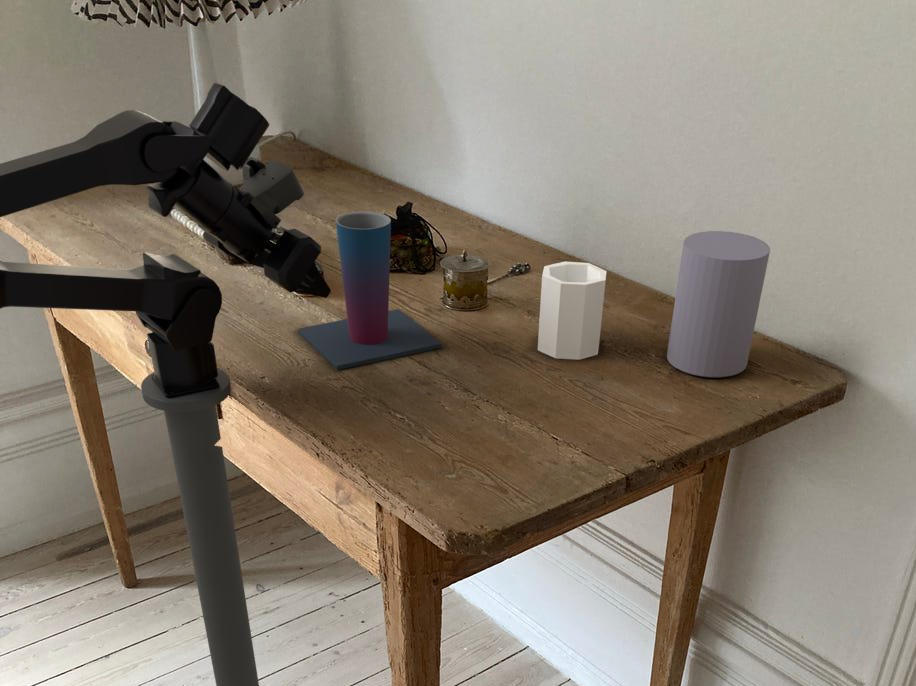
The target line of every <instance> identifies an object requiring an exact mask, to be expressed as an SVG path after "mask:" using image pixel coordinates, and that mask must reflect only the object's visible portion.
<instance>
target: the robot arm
mask: <svg viewBox="0 0 916 686" xmlns="http://www.w3.org/2000/svg"><path fill="white" fill-rule="evenodd" d="M269 127H270V123H269V121H268V119H266V117H265V116H264V115H263V114H262V113H261V112H260V111H259V110H258V109H257V108H255V107H254V106H251V105H249V104H248V103H247V102H246V101H244V100H243V99H242V98H240V97H239V96H238V95H236V94H235V93H233V92H232V91H230V89H228V88H227V86H226V85H224V84H222V83H220V82H219V83H218V82H214V83H213V84H212V85H211V87H210V88H209V90H208V92H207V95H206V97H205V100H204V101H203V103H202V105H201V106H200V108H199V109H198V111H197V112H196V114H195V115H194V117H193V118H192V120H191V121H190V124H189V125H186V124H185V123H182V122H181V121H178V120H159V119H157V118H155V117H153V116H151V115H149V114H147V113H145V112H143V111H140V110H136V109H128V110H124V111H121V112H120V113H117V114H116V115H114V116H112V117H110V118H108V119H106V120H103V121H102V122H100V123H98V124H96V126H94V127H93V128H92V129H91V130H90V131H88V133H86V135H83V137H81V138H79V139H77V140H75V141H73V142H69V143H65V144H63V145H59V146H56V147H52V148H49V149H46V150H45V149H44V150H42V151H40V152H36V153H31V154H29V155H25V156H22V157H18V158H15V159H11V160H8V161H5V162H1V163H0V218H3V217H6V216H9V215H13V214H16V213H18V212H21V211H25V210H28V209H31V208H35V207H39V206H40V205H43V204H47V203H50V202H54V201H57V200H60V199H63V198H66V197H69V196H73V195H76V194H79V193H82V192H85V191H88V190H92V189H94V188H99V187H103V186H139V185H140V186H141V185H146V187H145V189H146V191H147V195H148V198H147V201H148V208H149V209H150V210H152V211H153V212H155V213H157V214H159V215H160V216H162V217H163V218H166V217H168V216H169V214H170V213H171V212H172V210H173V208H174V207H176V208H177V209H178V210H180V211H181V212H183V213H184V214H185V215H186V216H187V217H189V218H190V219H191V220H192V221H194V222H195V223H196V224H197V227H199V229H201V230H202V231H203V232H204V238H205V242H207V243H209V244H210V245H211V246H212V247H214V248H215V249H216V250H218V251H220V252H221V253H223V254H224V255H227V256H228V257H230V258H232V259H234V260H235V261H239V262H242V263H245V264H248V265H252V266H255V267H259V268H262V269H263V274H264V276H265V277H267V279H269V280H270V281H271V282H273V283H274V284H275V285H277V286H278V287H280V288H282V289H283V290H285V291H286V292H288V293H290V294H291V293H298V294H299V293H300V294H305V295H311V296H315V297H320V298H324V299H327V298H329V297H328V296H329V295H330V294H331V292H332V289H331V288H330V286H329V285H328V283H327V281H326V280H325V278H324V276H323V275H322V273H321V272H320V269H319V268H318V266H317V265H316V260H317V259H318V257H320V255H321V253H322V246H321V244H320V243H318V242H317V241H316V240H315V239H313V237H311V236H310V235H308V234H306V233H304V232H303V231H300V230H298V229H297V228H290V229H286V230H284V231H283V232H282V234H279V233H277V232H275V231H273V230H277V227H278V226H279V224H280V223H281V221H282V219H281V218H280V217H279V216H278V214H280V213H281V212H283V211H284V210H285V209H286V208H288V207H289V206H290V205H291V204H293V203H294V202H295V201H300V200H301V199H302V198H303V197H304V195H305V191H304V189H303V187H302V185H301V183H300V181H299V179H298V177H297V174H296V173H295V171H294V169H293V167H291V166H289V165H288V164H286V163H283V162H281V161H279V160H270V159H268V160H266V161H265V163H266V164H265V163H263V162H262V161H261V160H259V159H257V158H255V157H252V154H253V151H254V150H255V149H256V147H257V145H258V144H259V142H260V141H261V140H262V138H263V136H264V135H265V133H266V132H267V130H268V129H269ZM205 158H207V159H208V160H209V161H211V162H212V163H213V164H215V165H216V166H218V167H219V168H220V169H222V170H223V171H225V172H229V171H230V170H231V167H232V168H233V169H235V170H236V171H239V170H242V183H243V185H241V186H240V187H237V186H236V185H235V184H233V183H231V181H230V182H229V180H227V179H226V178H225V177H224V176H223V175H222V174H220V172H218V171H217V170H216V169H215V168H214V167H213V166H211V165H210V164H209V163H208V162H207V161H206V160H205ZM142 260H143V264H142V265H139V266H136V267H134V268H130V269H120V268H119V269H118V268H106V267H93V266H92V267H89V266H76V265H75V266H73V265H61V264H58V265H57V264H45V263H31V262H30V263H29V262H14V261H12V262H11V261H0V310H2V309H4V308H35V309H36V308H37V309H59V310H60V309H61V310H83V311H84V310H85V311H87V310H89V311H111V312H113V311H115V312H135V315H136V317H137V318H138V319H139V321H140V323H141V324H142V326H143V327H144V328H147V329H148V330H149V331H150V332H147V334H146V337H147V343H148V347H149V352H150V357H151V362H152V369H153V372H154V373H153V372H152V373H153V374H152V375H151V376H152V379H153V381H154V382H155V384H156V385H157V386H158V388H159V389H160V390H161V392H162V393H163V395H164V396H165V397H166V398H174V397H179V396H183V395H188V394H193V393H198V392H202V391H207V390H212V389H217V388H219V387H220V386H219V382H218V381H217V380H216V379H215V377H217V376H218V370H217V368H218V363H217V357H216V351H215V344H213V342H212V340H213V335H214V330H215V325H216V319H217V317H218V315H219V314H220V312H221V309H222V305H223V295H222V292H221V288H220V287H219V286H218V284H217V282H215V280H214V279H212V278H210V277H209V276H208V275H206V274H204V273H203V272H202V271H201V269H199V268H198V267H196V266H194V265H192V263H190V262H188V261H187V260H185V259H184V258H182V257H181V256H179V255H177V254H176V253H171V254H168V255H158V254H154V253H150V252H145V251H144V252H142Z"/></svg>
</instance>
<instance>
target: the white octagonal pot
mask: <svg viewBox="0 0 916 686" xmlns="http://www.w3.org/2000/svg"><path fill="white" fill-rule="evenodd" d="M606 282H607V270H605V269H604V268H601V267H599V266H596V265H594V264H592V263H590V262H581V261H580V262H578V261H577V262H576V261H561V262H556V263H552V264H548V265H544V266H543V271H542V274H541V286H540V287H541V290H540V302H539V303H540V304H539V322H538V336H537V351H538V352H540V353H543V354H544V355H547V356H549V357H551V358H554V359H560V360H561V359H562V360H575V361H576V360H577V361H578V360H579V361H580V360H584V359H587V358H590V357H594V356H597V355H598V354H599V349H600V340H601V339H600V338H601V330H602V320H603V310H604V300H605V290H606Z"/></svg>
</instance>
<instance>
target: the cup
mask: <svg viewBox="0 0 916 686" xmlns="http://www.w3.org/2000/svg"><path fill="white" fill-rule="evenodd" d="M335 229H336V236H337V244H338V252H339V260H340V268H341V269H340V271H341V276H342V284H343V285H342V286H343V295H344V301H345V311H346V317H347V318H346V319H348V327H349V335H350V339H351V340H352V341H354V342H356V343H359V344H378V343H381V342H383V341H385V340H386V339H387V338H388V311H389V310H390V309H389V306H390V273H391V271H390V269H391V239H392V238H391V237H392V235H391V233H392V232H391V231H392V219H391V217H390V216H388V215H387V214H384V213H380V212H377V211H352V212H351V211H350V212H346V213H343V214H340V215H338V216H337V217H336V218H335Z"/></svg>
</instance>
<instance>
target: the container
mask: <svg viewBox="0 0 916 686" xmlns="http://www.w3.org/2000/svg"><path fill="white" fill-rule="evenodd" d="M770 252H771V247H770V246H769V245H768V243H767V242H765V241H764V240H762V239H760V238H759V237H755V236H752V235H749V234H744V233H739V232H736V231H735V232H734V231H726V230H725V231H723V230H709V231H708V230H707V231H699V232H695V233H691V234H690V235H688V236H686V237H685V238H684V240H683V244H682V250H681V256H680V264H679V271H678V277H677V284H676V292H675V298H674V306H673V312H672V319H671V325H670V331H669V339H668V344H667V345H668V346H667V351H666V352H667V353H666V359H667V362H669V364H670V365H671V366H672V367H674V368H675V369H678V370H679V371H681V372H683V373H684V374H688V375H690V376H695V377H699V378H706V379H724V378H730V377H733V376H736V375H738V374H740V373H742V372H743V371H744V370H746V369H747V366H748V362H749V358H750V357H749V356H750V352H751V347H752V344H753V343H752V342H753V337H754V332H755V328H756V322H757V319H758V318H757V317H758V313H759V306H760V303H761V297H762V293H763V287H764V283H765V278H766V274H767V269H768V263H769V257H770Z"/></svg>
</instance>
